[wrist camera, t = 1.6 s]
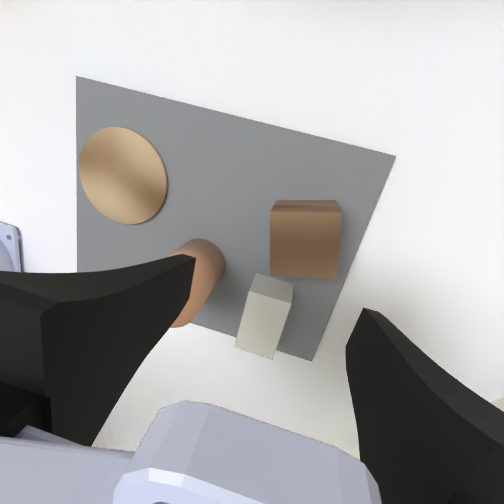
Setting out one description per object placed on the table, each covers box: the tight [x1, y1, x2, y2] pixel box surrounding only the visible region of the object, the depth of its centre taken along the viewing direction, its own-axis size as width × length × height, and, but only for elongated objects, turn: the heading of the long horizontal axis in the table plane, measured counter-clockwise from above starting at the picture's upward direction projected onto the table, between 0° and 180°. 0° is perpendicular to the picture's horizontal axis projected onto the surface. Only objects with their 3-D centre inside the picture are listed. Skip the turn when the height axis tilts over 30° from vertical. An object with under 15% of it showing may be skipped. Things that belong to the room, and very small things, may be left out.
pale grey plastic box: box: [234, 273, 293, 360], centre depth 21 cm, size 5×3×3 cm, turn 167°
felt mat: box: [76, 76, 396, 361], centre depth 22 cm, size 17×22×1 cm
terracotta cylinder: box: [168, 239, 225, 328], centre depth 20 cm, size 4×4×6 cm
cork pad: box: [79, 127, 168, 224], centre depth 21 cm, size 7×7×1 cm
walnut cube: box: [270, 200, 342, 279], centre depth 18 cm, size 4×4×4 cm
